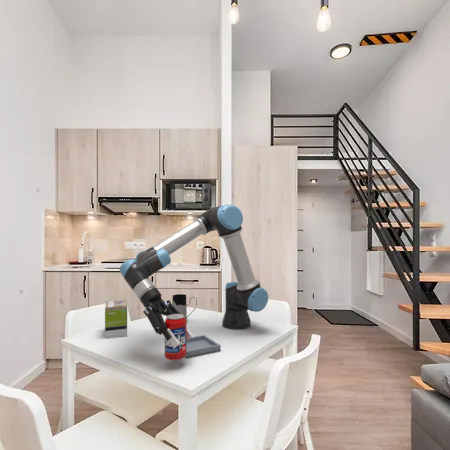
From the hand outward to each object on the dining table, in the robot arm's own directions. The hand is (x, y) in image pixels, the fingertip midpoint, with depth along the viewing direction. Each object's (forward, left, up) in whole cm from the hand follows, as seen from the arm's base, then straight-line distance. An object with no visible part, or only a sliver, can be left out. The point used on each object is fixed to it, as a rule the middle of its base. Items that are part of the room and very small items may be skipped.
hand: (183, 341), depth 107 cm
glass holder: (-22, -54, -9) cm, 59 cm away
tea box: (+14, -53, -9) cm, 55 cm away
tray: (-11, -14, -9) cm, 20 cm away
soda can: (+2, -3, -6) cm, 7 cm away
